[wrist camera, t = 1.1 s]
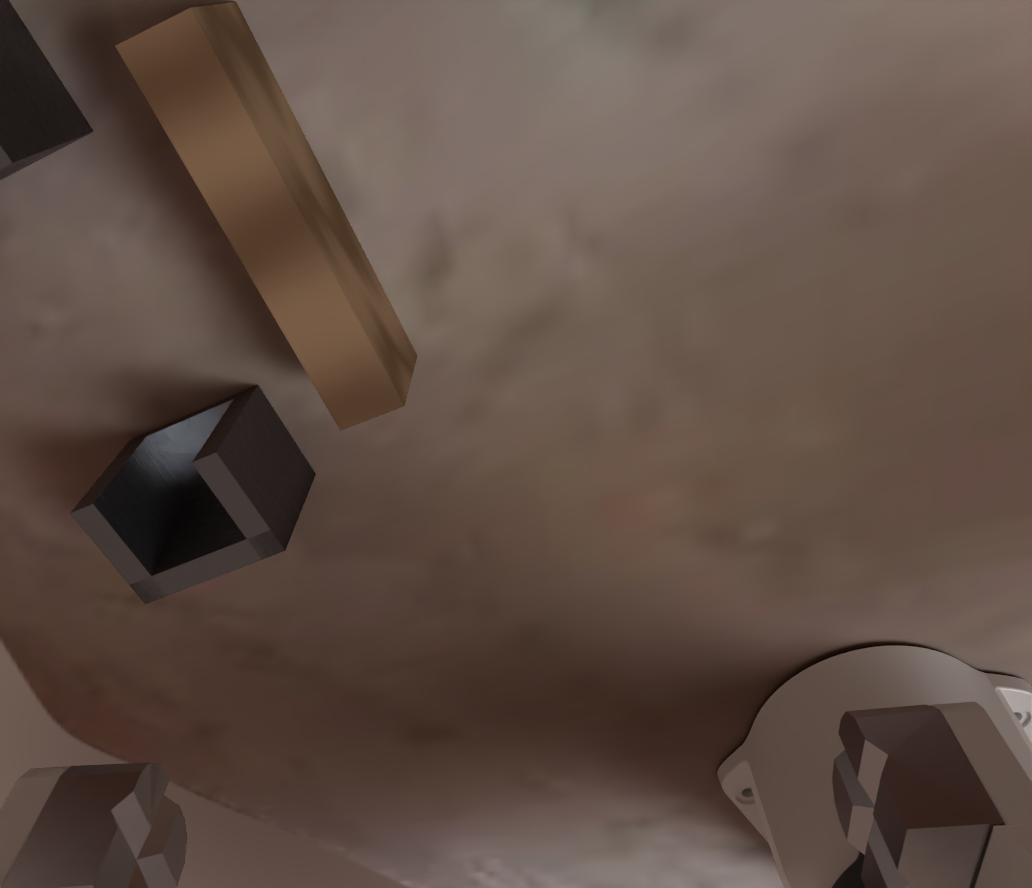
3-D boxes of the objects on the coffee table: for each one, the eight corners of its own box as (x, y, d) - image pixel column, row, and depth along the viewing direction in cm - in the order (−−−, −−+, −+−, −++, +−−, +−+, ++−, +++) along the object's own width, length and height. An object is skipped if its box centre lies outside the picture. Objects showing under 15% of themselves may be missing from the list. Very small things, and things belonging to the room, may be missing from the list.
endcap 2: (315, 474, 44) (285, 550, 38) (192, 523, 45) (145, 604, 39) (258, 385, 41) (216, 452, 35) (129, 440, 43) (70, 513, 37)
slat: (417, 353, 41) (404, 406, 36) (361, 376, 41) (340, 430, 36) (237, 1, 33) (190, 7, 29) (171, 34, 34) (114, 45, 29)
